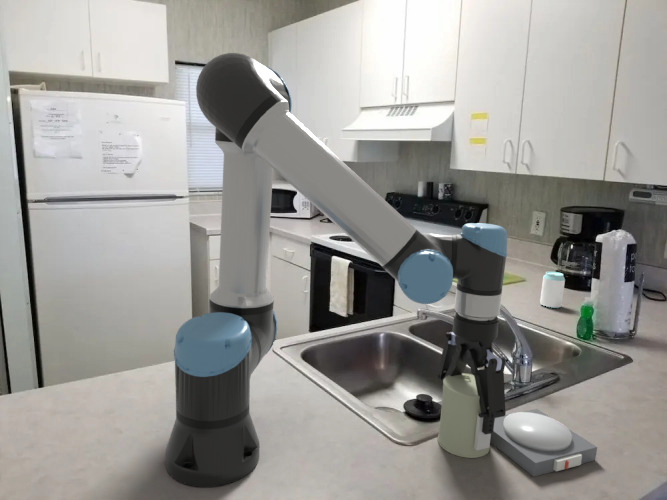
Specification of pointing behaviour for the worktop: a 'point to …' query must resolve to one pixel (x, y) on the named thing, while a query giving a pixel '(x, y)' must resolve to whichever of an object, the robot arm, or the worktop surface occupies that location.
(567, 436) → the scale
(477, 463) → the worktop surface
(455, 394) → the can
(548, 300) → the can
